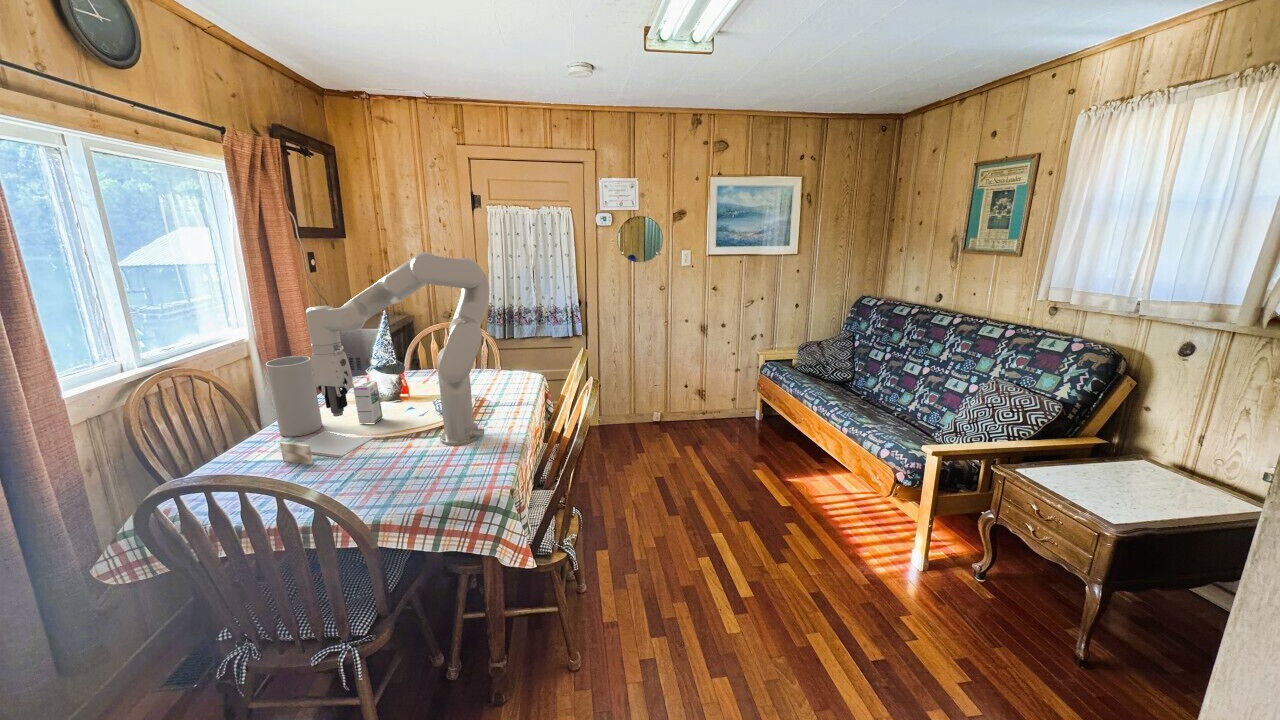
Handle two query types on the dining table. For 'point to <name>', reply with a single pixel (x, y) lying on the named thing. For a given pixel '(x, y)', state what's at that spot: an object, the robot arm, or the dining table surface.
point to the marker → (334, 401)
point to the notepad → (333, 444)
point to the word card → (296, 453)
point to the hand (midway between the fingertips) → (337, 406)
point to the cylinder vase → (294, 395)
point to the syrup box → (367, 402)
